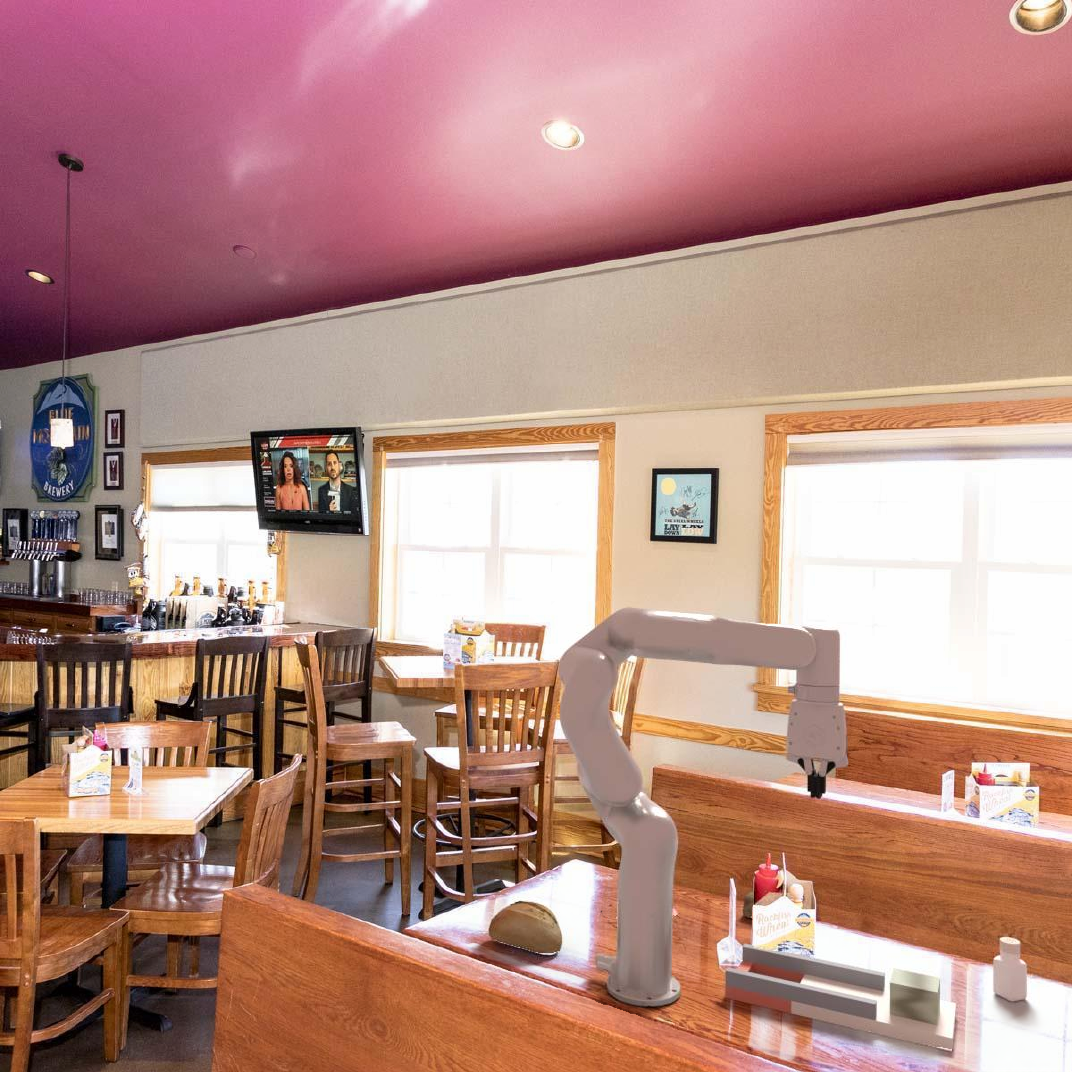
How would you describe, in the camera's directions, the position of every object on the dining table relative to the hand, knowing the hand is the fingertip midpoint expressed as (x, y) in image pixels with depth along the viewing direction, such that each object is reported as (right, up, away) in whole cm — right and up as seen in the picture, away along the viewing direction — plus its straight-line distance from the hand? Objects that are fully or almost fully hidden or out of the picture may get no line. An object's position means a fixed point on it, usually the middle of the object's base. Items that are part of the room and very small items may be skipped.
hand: (816, 796), depth 162 cm
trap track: (0, -32, -12) cm, 34 cm away
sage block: (+10, -30, -17) cm, 36 cm away
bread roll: (-53, -32, +9) cm, 62 cm away
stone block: (-1, -34, +25) cm, 42 cm away
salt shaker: (+31, -33, -7) cm, 46 cm away
